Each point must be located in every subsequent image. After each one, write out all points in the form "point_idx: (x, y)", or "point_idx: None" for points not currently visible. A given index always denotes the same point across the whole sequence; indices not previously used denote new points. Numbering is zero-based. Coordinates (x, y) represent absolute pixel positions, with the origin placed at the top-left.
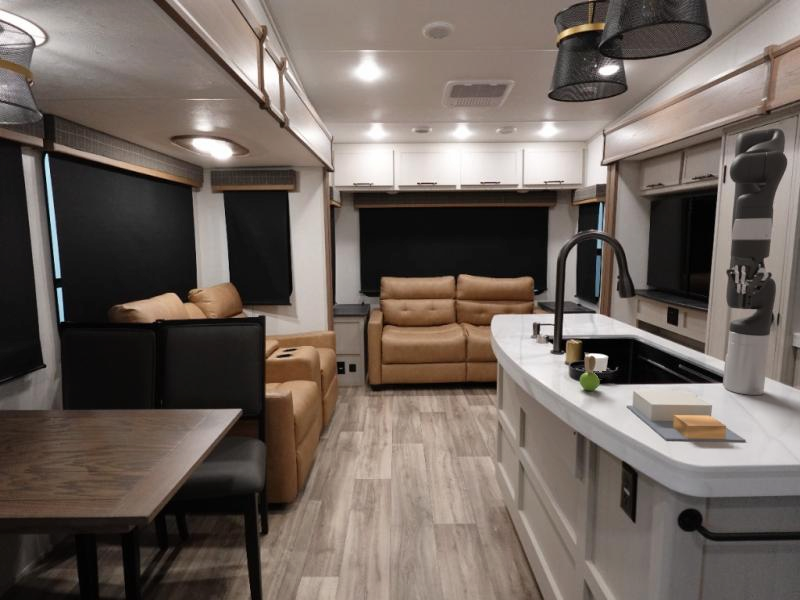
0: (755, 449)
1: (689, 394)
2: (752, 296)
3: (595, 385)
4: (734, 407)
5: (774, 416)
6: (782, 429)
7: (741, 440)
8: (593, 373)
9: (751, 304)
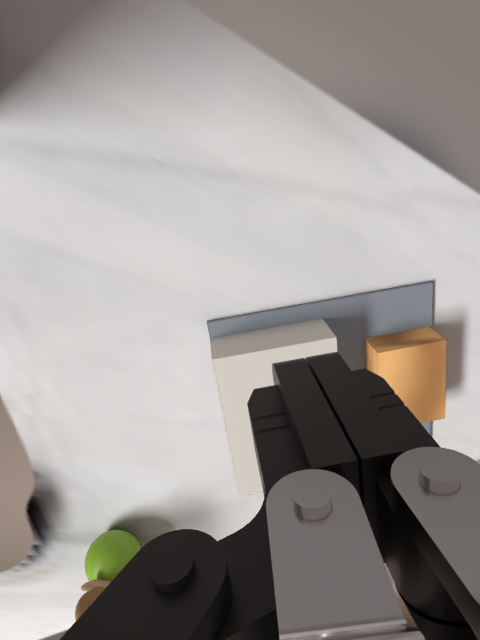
0: (469, 278)
1: (243, 366)
2: (438, 446)
3: (138, 545)
4: (169, 192)
5: (231, 97)
6: (341, 137)
7: (431, 291)
8: (112, 576)
9: (385, 386)
